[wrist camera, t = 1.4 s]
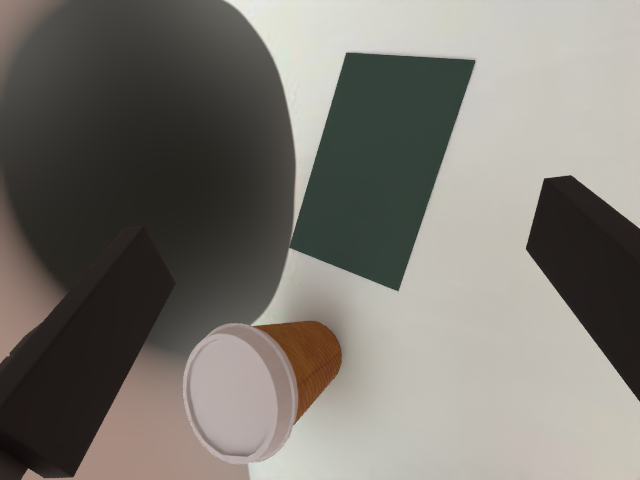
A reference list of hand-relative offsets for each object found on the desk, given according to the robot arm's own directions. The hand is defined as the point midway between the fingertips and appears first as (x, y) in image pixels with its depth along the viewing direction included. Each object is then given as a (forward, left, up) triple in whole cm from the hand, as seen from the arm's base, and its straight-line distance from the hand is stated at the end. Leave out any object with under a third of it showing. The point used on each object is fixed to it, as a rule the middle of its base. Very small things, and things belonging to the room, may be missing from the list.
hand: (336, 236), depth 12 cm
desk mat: (-5, -8, -19) cm, 21 cm away
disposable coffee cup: (+14, -8, -19) cm, 25 cm away
